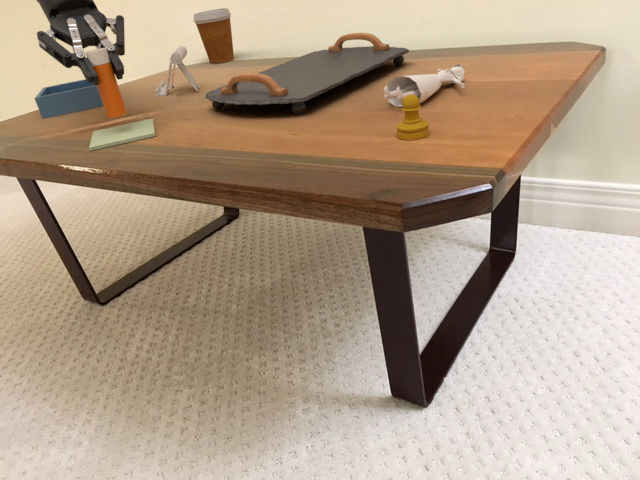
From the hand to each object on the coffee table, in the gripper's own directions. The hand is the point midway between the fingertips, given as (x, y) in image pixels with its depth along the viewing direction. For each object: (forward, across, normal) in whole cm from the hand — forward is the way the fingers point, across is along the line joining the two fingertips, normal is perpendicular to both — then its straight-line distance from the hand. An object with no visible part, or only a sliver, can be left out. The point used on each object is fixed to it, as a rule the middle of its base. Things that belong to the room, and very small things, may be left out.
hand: (108, 78), depth 82 cm
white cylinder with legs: (-9, +18, +23) cm, 30 cm away
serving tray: (+9, +34, +4) cm, 35 cm away
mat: (+5, 0, +8) cm, 10 cm away
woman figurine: (+27, +38, -13) cm, 49 cm away
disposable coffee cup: (-26, +40, +40) cm, 62 cm away
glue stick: (+3, 0, +6) cm, 6 cm away
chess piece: (+35, +24, -21) cm, 47 cm away
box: (-17, 0, +30) cm, 35 cm away
